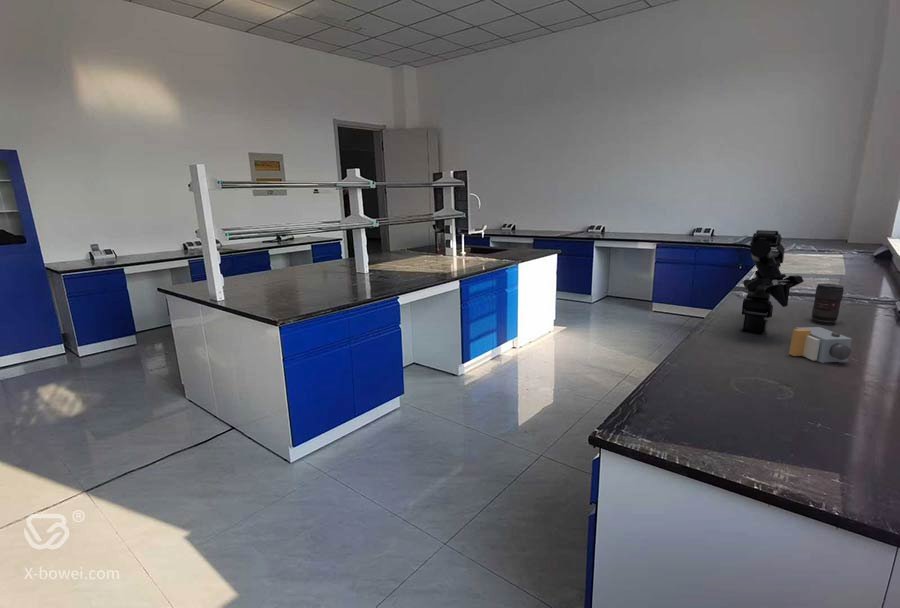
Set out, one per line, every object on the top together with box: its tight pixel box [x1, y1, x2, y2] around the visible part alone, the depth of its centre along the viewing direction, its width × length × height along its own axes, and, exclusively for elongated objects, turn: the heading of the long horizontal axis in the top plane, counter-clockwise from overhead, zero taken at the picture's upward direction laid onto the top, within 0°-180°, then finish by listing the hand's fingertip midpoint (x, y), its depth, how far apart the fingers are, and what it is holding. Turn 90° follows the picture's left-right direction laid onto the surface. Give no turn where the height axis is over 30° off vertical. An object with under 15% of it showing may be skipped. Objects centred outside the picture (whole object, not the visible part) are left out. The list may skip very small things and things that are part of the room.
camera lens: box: [811, 283, 845, 326], centre depth 174 cm, size 8×8×15 cm
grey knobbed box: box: [794, 326, 853, 364], centre depth 141 cm, size 14×8×8 cm, turn 1°
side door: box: [788, 328, 820, 361], centre depth 141 cm, size 6×4×8 cm, turn 1°
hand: (785, 306), depth 151 cm, fingers closed
